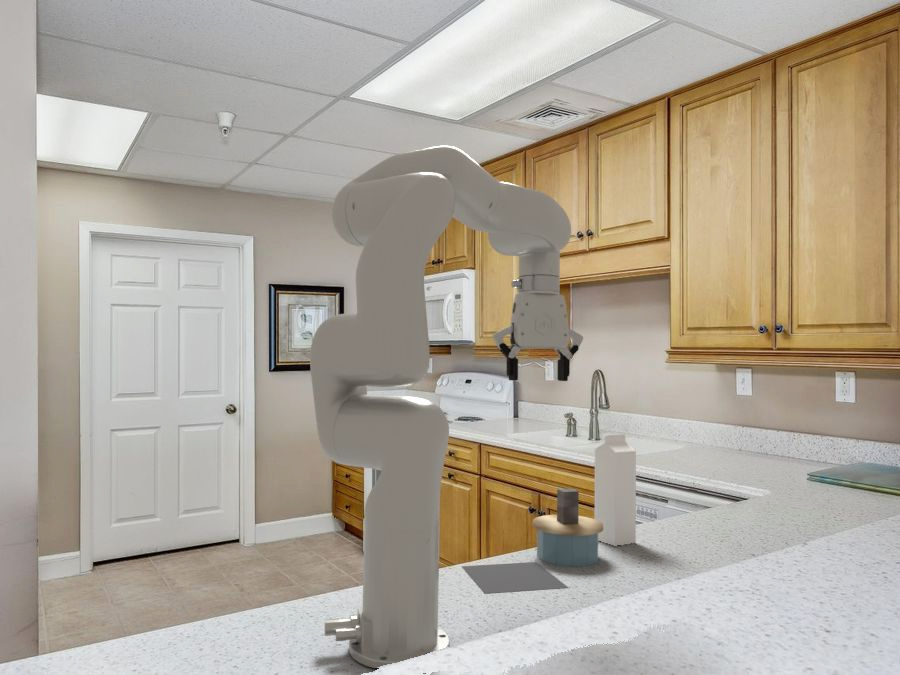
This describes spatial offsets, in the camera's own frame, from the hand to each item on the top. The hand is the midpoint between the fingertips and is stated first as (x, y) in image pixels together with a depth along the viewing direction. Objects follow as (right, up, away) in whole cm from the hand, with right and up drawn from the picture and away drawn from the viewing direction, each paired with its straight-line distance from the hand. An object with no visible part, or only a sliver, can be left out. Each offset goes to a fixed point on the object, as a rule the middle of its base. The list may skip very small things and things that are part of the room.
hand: (538, 380), depth 120 cm
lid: (+6, -28, +2) cm, 28 cm away
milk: (+18, -35, +15) cm, 42 cm away
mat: (-6, -33, -10) cm, 35 cm away
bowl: (+6, -34, +2) cm, 34 cm away
